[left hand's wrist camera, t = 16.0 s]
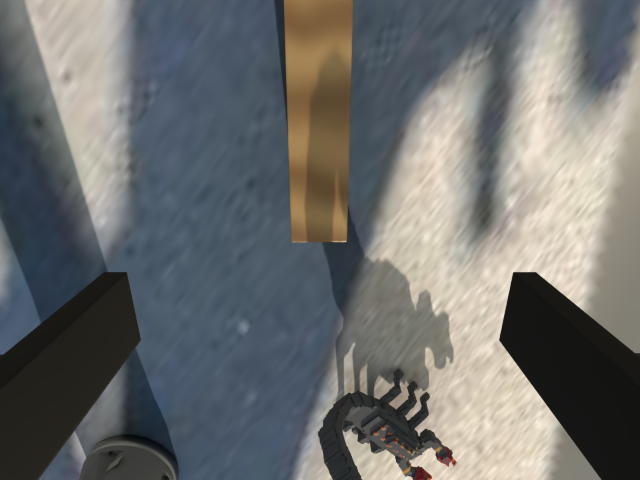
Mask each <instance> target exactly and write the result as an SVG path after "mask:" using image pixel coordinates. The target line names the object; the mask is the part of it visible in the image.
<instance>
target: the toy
mask: <svg viewBox="0 0 640 480" xmlns="http://www.w3.org/2000/svg"><path fill="white" fill-rule="evenodd" d="M393 374H394V376H395V377H394V384H395V386H394V387H393V388H391V389H390V390H389V392H388V393H387V394H385V395H384V396H383V397H381V398H380V400H379V399H376V398H374V397H371V396H369V395H366V394H363V393H361V392H359V391H357V392H356V393H353V394H351V393H348V394H346V395H345V396H344V397H343V398H341V399H340V400H339V401H337V402H336V403H335V404H334V405H333V408H332V409H331V410H329V412H328V414H327V415H326V417H325V419H324V420H323V427H322V428H321V429H320V431H319V432H318V436H319V438H320V444H321V447H322V450H323V456H324V463H325V464H326V466H327V468H328V469H329V473H330V475H331V477H332V479H333V480H362V479H361V476H360V474H359V472H358V470H357V466H355V464H354V461H353V459H352V456H351V453H350V451H349V450H348V447H347V446H346V443H345V440H344V436H343V432H342V430H343V431H344V432H347V431H348V430H349V429H351V428H352V432H353V433H354V434H358V442H360V443H361V444H364V443H365V442H366V443H368V444H369V443H370V446H371V452H373V453H375V454H377V453H379V452H381V451H384V450H385V449H386V450H388V451H389V452H390V453H392V454H393V455H394V456H395V459H396V462H397V463H398V465H399V467H400V468H401V470H402V472H403V474H404V475H405V476H411V477H412V478H413V480H431V479H432V476H431V475H430V474H429V473H427V472H426V471H425V470H424V469H423V468H422V467H421V468H420V467H419V466H418V467H412V466H411V463H410V462H409V460H412V459H414V458H415V457H417V456H419V455H422V453H423V452H424V451H425V450H427V449H428V448H430V447H432V448H433V449H434V450H435V451H436V457H437V460H438V461H440V462H441V463H444V464H446V465H447V466H448V467H449V463H450V462H451V461H452V464H453V466H455V465H456V463H457V462H456V461H455V460H454V459H453V457H452V454H453V453H452V451H451V450H450V449H449V448H448V447H445V446H443V445H442V443H441V441H440V440H439V439H438V438H437V437H435V434H434V432H432V431H431V430H427V429H425V430H424V431H422V432H421V433H420V436H418V433H417V431H416V430H415V429H414V428H416V427H417V426H418V425H419V424H420V423H421V422H422V421H423V420H424V419H425V418H426V417H427V416H428V415H429V412H428V408H427V403H426V401H427V400H428V399H429V398H430V396H429V394H428V393H427V392H426V393H425V394H424V395H422V396H421V397H420V401H421V405H422V407H421V410H420V411H419V412H418V413H416V414H415V415H414V416H413V417H412V418H411V419H410V420H407V419H406V417H405V415H407V413H408V412H409V410H410V409H412V408H413V407H414V406H415V404H416V402H417V400H416V397H415V394H414V390H415V389H416V388H417V387H418V386H417V384H416V383H415V382H413V383H412V384H410V385H409V386H408V387H407V389H408V392H409V395H410V396H408V400H406V401H405V402H404V403H403V404H402V405H401V406H400V407H399V408H398V409H397V410H396V409H395V408H394V407H392V406H390V405H389V404H388V403H390V402H391V401H392V400H393V399H394V398H396V397H397V396H398V395H399V394H400V393H401V389H400V379H401V378H402V376H403V375H404V374H403V372H402V371H401V370H400V369H398V370H397V371H396V372H394V373H393Z"/></svg>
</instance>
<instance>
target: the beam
mask: <svg viewBox="0 0 640 480" xmlns="http://www.w3.org/2000/svg"><path fill="white" fill-rule="evenodd" d="M284 22H285V54H286V85H287V116H288V147H289V179H290V210H291V241H292V242H347V215H348V176H349V138H350V99H351V60H352V22H353V0H284Z"/></svg>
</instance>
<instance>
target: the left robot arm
mask: <svg viewBox="0 0 640 480" xmlns="http://www.w3.org/2000/svg"><path fill="white" fill-rule="evenodd" d="M140 341H141V338H140V334H139V329H138V324H137V319H136V314H135V310H134V305H133V300H132V295H131V290H130V286H129V281H128V276H127V272H104V273H103V274H101V275H100V276H99V277H98V278H97V279H95V280H94V281H93V282H92V283H90V284H89V285H88V286H87V287H86V288H84V289H83V290H82V291H81V292H79V293H78V294H77V295H76V296H75V297H73V298H72V299H71V300H70V301H68V302H67V303H66V304H65V305H64V306H62V307H61V308H60V309H59V310H57V311H56V312H55V313H54V314H52V315H51V316H50V317H49V318H48V319H46V320H45V321H44V322H43V323H41V324H40V325H39V326H38V327H37V328H35V329H34V330H33V331H32V332H30V333H29V334H28V335H27V336H26V337H24V338H23V339H22V340H21V341H19V342H18V343H17V344H16V345H15V346H13V347H12V348H11V349H10V350H8V351H7V352H6V353H5V354H4V355H0V480H39V478H40V477H41V476H42V474H43V473H44V471H45V470H46V469H47V467H48V466H49V465H50V463H51V462H52V461H53V459H54V458H55V456H56V455H57V454H58V452H59V451H60V450H61V448H62V447H63V446H64V444H65V443H66V441H67V440H68V439H69V437H70V436H71V435H72V433H73V432H74V431H75V429H76V428H77V426H78V425H79V424H80V422H81V421H82V420H83V418H84V417H85V416H86V414H87V413H88V411H89V410H90V409H91V407H92V406H93V405H94V403H95V402H96V401H97V399H98V398H99V396H100V395H101V394H102V392H103V391H104V390H105V388H106V387H107V386H108V384H109V383H110V381H111V380H112V379H113V377H114V376H115V375H116V373H117V372H118V371H119V369H120V368H121V366H122V365H123V364H124V362H125V361H126V360H127V358H128V357H129V356H130V354H131V353H132V351H133V350H134V349H135V347H136V346H137V345H138V343H139V342H140ZM499 341H500V342H501V343H502V345H503V346H504V347H505V349H506V350H507V351H508V353H509V354H510V356H511V357H512V358H513V360H514V361H515V362H516V364H517V365H518V366H519V368H520V369H521V371H522V372H523V373H524V375H525V376H526V377H527V379H528V380H529V381H530V383H531V384H532V386H533V387H534V388H535V390H536V391H537V392H538V394H539V395H540V396H541V398H542V399H543V401H544V402H545V403H546V405H547V406H548V407H549V409H550V410H551V411H552V413H553V414H554V416H555V417H556V418H557V420H558V421H559V422H560V424H561V425H562V426H563V428H564V429H565V431H566V432H567V433H568V435H569V436H570V437H571V439H572V440H573V441H574V443H575V444H576V446H577V447H578V448H579V450H580V451H581V452H582V454H583V455H584V456H585V458H586V459H587V460H588V462H589V463H590V465H591V466H592V467H593V469H594V470H595V471H596V473H597V474H598V476H599V477H600V478H601V480H640V353H634V352H633V351H632V350H630V349H629V348H628V347H627V346H625V345H624V344H623V343H622V342H620V341H619V340H618V339H617V338H616V337H614V336H613V335H612V334H611V333H610V332H608V331H607V330H606V329H605V328H603V327H602V326H601V325H600V324H599V323H597V322H596V321H595V320H594V319H592V318H591V317H590V316H589V315H588V314H586V313H585V312H584V311H583V310H581V309H580V308H579V307H578V306H576V305H575V304H574V303H573V302H572V301H570V300H569V299H568V298H567V297H565V296H564V295H563V294H562V293H561V292H559V291H558V290H557V289H556V288H554V287H553V286H552V285H551V284H550V283H548V282H547V281H546V280H545V279H543V278H542V277H541V276H540V275H539V274H537V273H536V272H513V276H512V281H511V286H510V290H509V295H508V300H507V305H506V310H505V314H504V319H503V324H502V329H501V334H500V338H499ZM178 476H179V470H178V466H177V463H176V461H175V459H174V458H173V457H172V455H171V454H170V453H169V452H168V451H167V450H166V449H164V448H163V447H162V446H160V445H158V444H156V443H155V442H152V441H150V440H147V439H144V438H140V437H135V436H116V437H111V438H108V439H105V440H103V441H101V442H100V443H98V444H97V445H96V446H95V447H94V448H93V449H92V451H91V452H90V454H89V455H88V457H87V458H86V460H85V462H84V464H83V467H82V471H81V475H80V478H79V480H178Z"/></svg>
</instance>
